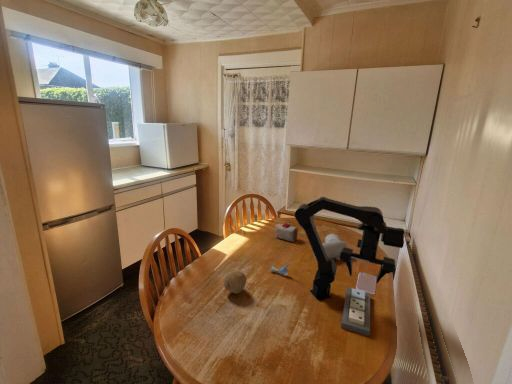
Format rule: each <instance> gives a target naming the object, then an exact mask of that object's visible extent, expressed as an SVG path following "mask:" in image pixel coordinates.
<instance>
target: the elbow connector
mask: <svg viewBox="0 0 512 384" xmlns="http://www.w3.org/2000/svg"><path fill="white" fill-rule="evenodd" d="M322 245H323V247H324V250H325V252H326V255H327V257H328V258H329V259H330V260H331V259H335V260H338V261H340V260H341V259H340V253H341V250H342V248H344V247H345V248H347V244H346V243H345V242H344V241H343V240H341V238H340V237H339V236H338V234H336V233H329V234H328V235H326V236H325V238H324V242H322ZM312 253H313V257H314V259H315V260H316V257H315V255H314V252H313V251H312Z"/></svg>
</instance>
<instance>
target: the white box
mask: <svg viewBox="0 0 512 384" xmlns="http://www.w3.org/2000/svg"><path fill="white" fill-rule="evenodd" d="M274 227H275V229H274V230H275V236H274V237H275V238H276V239H281V240H284V241H288V242H290V243H295V242H296V241H297V239H298V232H299V231H298V227H296V226H293V225H291V224H289V222H287V223H286V222H285V223H277V224H275V226H274Z"/></svg>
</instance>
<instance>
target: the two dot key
mask: <svg viewBox="0 0 512 384" xmlns="http://www.w3.org/2000/svg"><path fill="white" fill-rule="evenodd" d="M349 309H350V310H349V316H348V319H347V321H349V322H352V323H355V324H359V325H362V326H364V313H365V312H362V311H358V310H354V309H351V308H350V307H349Z"/></svg>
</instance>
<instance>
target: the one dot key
mask: <svg viewBox="0 0 512 384" xmlns="http://www.w3.org/2000/svg"><path fill="white" fill-rule="evenodd" d="M351 289H352V292H351V295H350V299H351V298H354V299H358V300H362V301H365V291H361V290H357V289H356V288H351Z"/></svg>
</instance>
